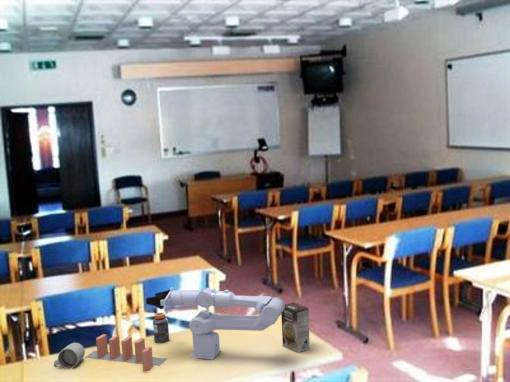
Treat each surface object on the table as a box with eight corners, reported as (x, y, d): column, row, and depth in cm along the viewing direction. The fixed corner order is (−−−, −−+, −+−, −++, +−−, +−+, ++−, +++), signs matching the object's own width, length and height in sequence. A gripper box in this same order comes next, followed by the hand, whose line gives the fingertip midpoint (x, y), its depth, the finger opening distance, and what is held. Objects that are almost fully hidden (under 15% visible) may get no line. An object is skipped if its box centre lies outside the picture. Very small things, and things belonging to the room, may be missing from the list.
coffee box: (281, 346, 220) (280, 305, 218) (294, 341, 224) (293, 301, 222) (297, 353, 213) (295, 311, 211) (310, 348, 217) (309, 307, 215)
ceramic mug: (87, 359, 217) (84, 339, 216) (78, 368, 209) (76, 348, 208) (59, 360, 218) (57, 340, 217) (50, 369, 210) (48, 349, 209)
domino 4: (145, 357, 216) (144, 338, 215) (139, 362, 212) (138, 342, 211) (142, 357, 216) (140, 337, 215) (135, 361, 212) (134, 342, 211)
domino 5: (153, 366, 208) (151, 346, 207) (146, 372, 204) (145, 351, 203) (149, 366, 208) (147, 346, 207) (142, 371, 204) (141, 351, 203)
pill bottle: (171, 338, 234) (169, 311, 233) (167, 344, 228) (165, 316, 227) (156, 338, 235) (154, 311, 233) (152, 344, 229) (150, 316, 228)
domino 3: (133, 356, 217) (131, 336, 217) (126, 360, 213) (125, 341, 212) (129, 355, 218) (127, 336, 217) (122, 360, 214) (121, 341, 213)
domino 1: (108, 353, 221) (106, 334, 220) (101, 358, 217) (99, 338, 216) (104, 352, 222) (102, 334, 221) (97, 357, 218) (96, 338, 217)
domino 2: (120, 354, 219) (118, 335, 218) (113, 359, 215) (112, 340, 214) (116, 354, 220) (115, 335, 219) (110, 359, 216) (108, 339, 215)
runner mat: (168, 359, 214) (167, 358, 214) (159, 366, 208) (159, 365, 208) (94, 351, 225) (94, 350, 225) (84, 358, 219) (84, 357, 219)
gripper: (190, 283, 222) (158, 283, 226) (175, 291, 208) (141, 292, 212) (192, 301, 223) (160, 301, 226) (177, 311, 209) (143, 311, 213)
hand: (151, 298), depth 219 cm, fingers open, 7 cm apart
